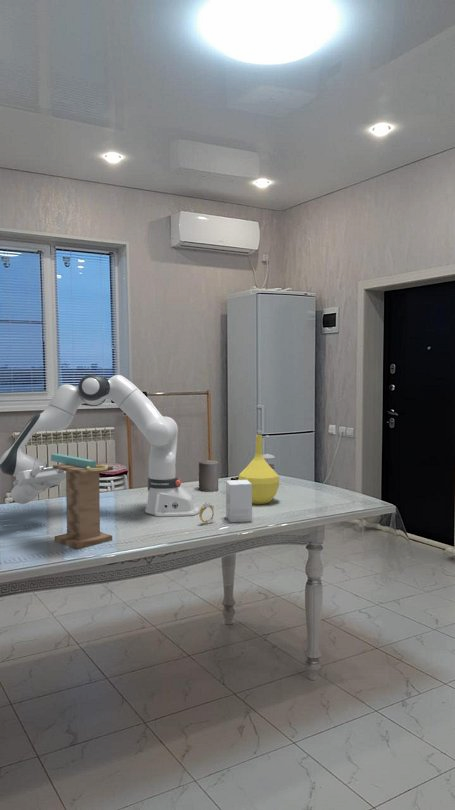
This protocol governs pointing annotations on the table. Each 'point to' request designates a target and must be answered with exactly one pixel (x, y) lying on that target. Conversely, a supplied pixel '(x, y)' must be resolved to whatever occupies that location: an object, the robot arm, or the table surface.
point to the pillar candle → (208, 476)
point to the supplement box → (238, 500)
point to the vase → (260, 477)
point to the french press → (268, 456)
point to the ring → (204, 509)
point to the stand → (82, 507)
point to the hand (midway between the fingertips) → (53, 466)
